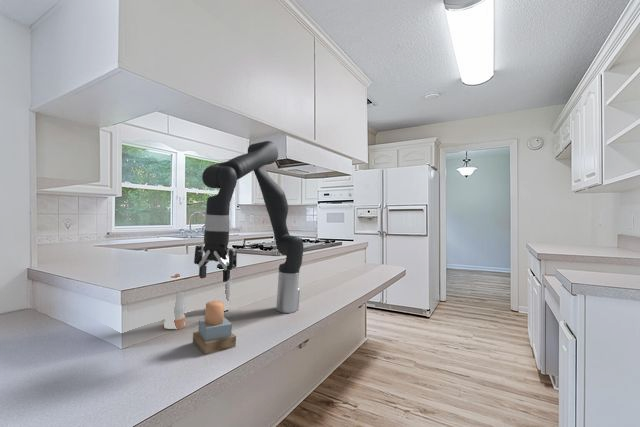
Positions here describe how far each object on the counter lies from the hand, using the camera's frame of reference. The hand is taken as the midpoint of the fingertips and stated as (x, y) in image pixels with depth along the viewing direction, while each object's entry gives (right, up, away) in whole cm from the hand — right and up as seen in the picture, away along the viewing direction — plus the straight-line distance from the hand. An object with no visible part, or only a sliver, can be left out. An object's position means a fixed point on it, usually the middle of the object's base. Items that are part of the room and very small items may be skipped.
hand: (214, 279), depth 101 cm
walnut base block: (-1, -22, +2) cm, 22 cm away
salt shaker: (-19, -20, +14) cm, 31 cm away
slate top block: (0, -18, +1) cm, 18 cm away
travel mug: (-8, -20, +35) cm, 41 cm away
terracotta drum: (0, -14, +1) cm, 14 cm away
